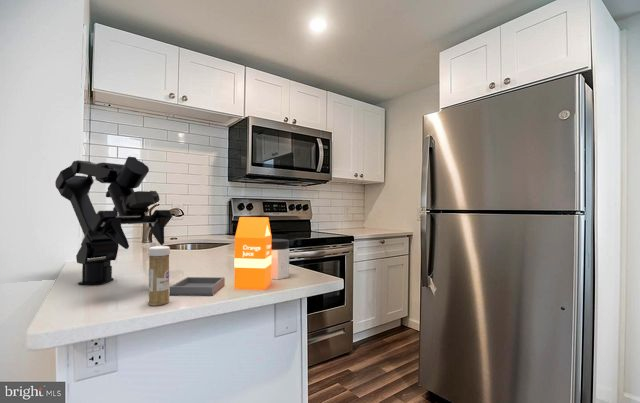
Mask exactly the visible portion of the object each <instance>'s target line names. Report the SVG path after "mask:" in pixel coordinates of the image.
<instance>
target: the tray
mask: <svg viewBox="0 0 640 403" xmlns="http://www.w3.org/2000/svg"><path fill="white" fill-rule="evenodd" d="M225 280H226V279H225V277H221V276H220V277H218V276H217V277H209V276H208V277H207V276H206V277H205V276H204V277H203V276H202V277H201V276H197V277H196V276H194V277H193V276H187V277H185V278H183V279H181V280H179V281H178V282H176V283H174V284H172V285H171V286H170V285H169V296H177V297H178V296H185V297H186V296H187V297H188V296H190V297H193V296H199V297H202V296H203V297H211V296H214V295H215V294H216V293H217V292H218V291H220V290H221V288H223V287H224V286H225V282H226V281H225Z"/></svg>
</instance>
